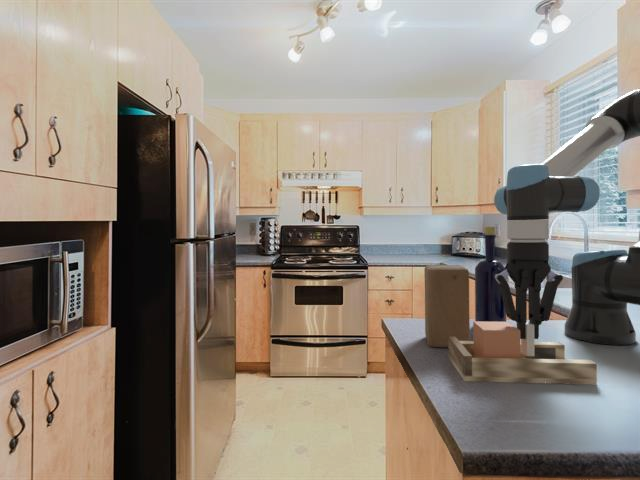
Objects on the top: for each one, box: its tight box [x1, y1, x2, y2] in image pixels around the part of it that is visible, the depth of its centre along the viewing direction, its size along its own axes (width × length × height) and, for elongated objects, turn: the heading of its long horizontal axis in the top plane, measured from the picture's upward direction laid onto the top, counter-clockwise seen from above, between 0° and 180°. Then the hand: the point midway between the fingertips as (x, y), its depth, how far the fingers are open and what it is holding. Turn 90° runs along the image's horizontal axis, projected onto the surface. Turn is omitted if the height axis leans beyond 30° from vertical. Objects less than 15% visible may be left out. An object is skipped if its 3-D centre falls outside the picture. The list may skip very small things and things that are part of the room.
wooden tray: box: [448, 336, 598, 386], centre depth 77 cm, size 24×13×5 cm, turn 83°
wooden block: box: [423, 264, 471, 349], centre depth 96 cm, size 10×10×20 cm
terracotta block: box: [472, 320, 521, 359], centre depth 77 cm, size 7×7×8 cm
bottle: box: [474, 226, 507, 322], centre depth 108 cm, size 9×9×30 cm
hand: (527, 353), depth 76 cm, fingers closed
